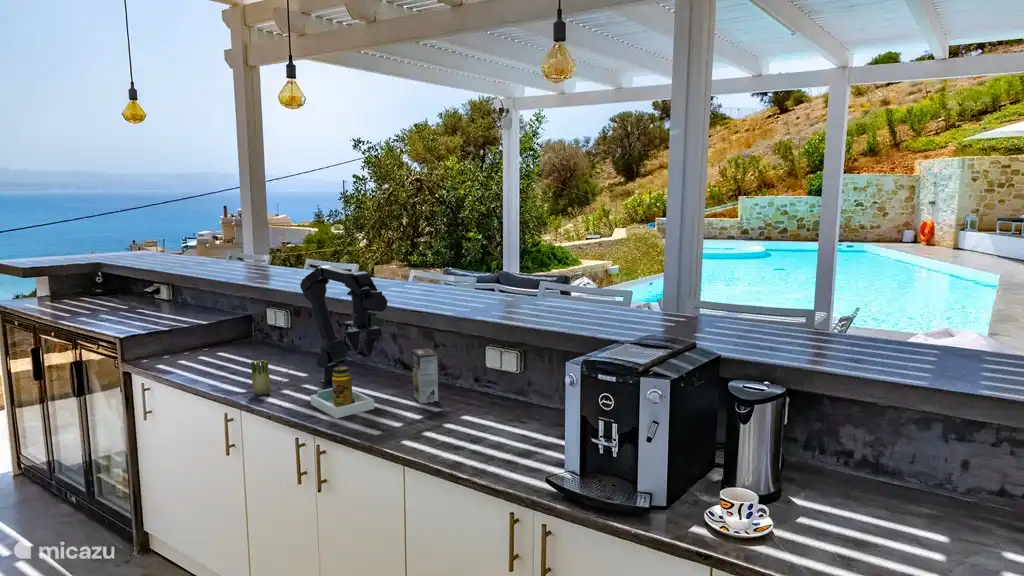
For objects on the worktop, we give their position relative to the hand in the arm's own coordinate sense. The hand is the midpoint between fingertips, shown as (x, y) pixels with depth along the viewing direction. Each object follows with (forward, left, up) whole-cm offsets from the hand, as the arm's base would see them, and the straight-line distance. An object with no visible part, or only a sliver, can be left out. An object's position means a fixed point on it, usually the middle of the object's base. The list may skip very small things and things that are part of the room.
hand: (362, 353), depth 224 cm
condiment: (+11, -13, -12) cm, 21 cm away
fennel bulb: (-20, -28, -13) cm, 37 cm away
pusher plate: (+5, -14, -12) cm, 19 cm away
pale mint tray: (+11, -14, -13) cm, 22 cm away
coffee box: (+23, +10, -13) cm, 28 cm away
